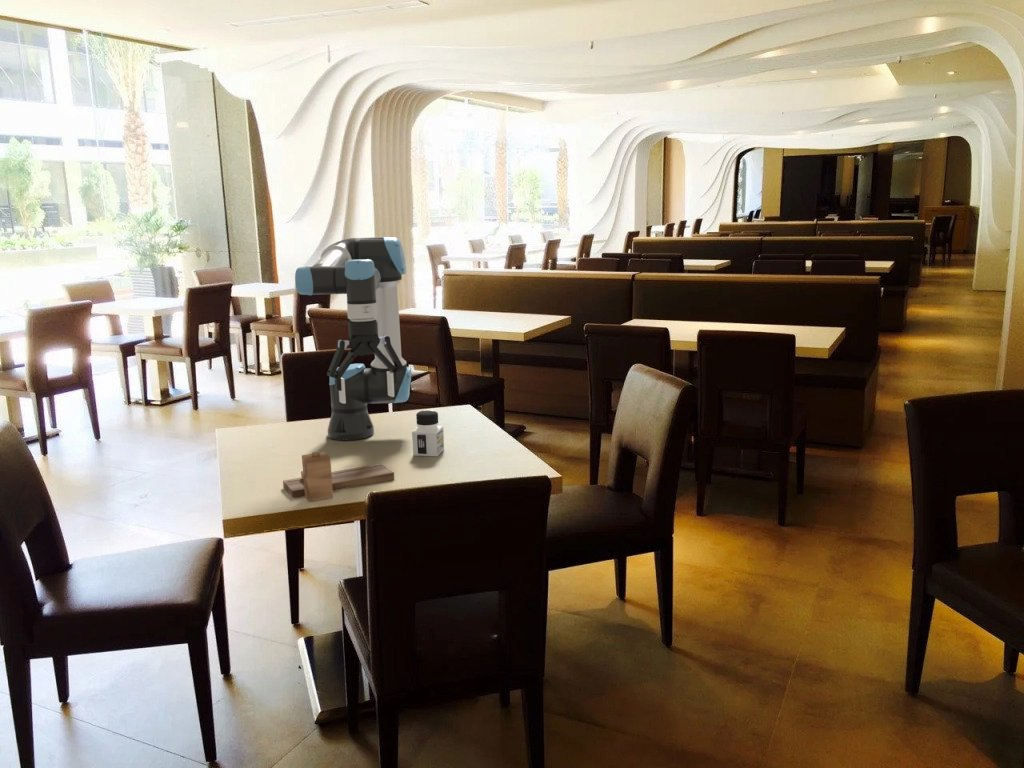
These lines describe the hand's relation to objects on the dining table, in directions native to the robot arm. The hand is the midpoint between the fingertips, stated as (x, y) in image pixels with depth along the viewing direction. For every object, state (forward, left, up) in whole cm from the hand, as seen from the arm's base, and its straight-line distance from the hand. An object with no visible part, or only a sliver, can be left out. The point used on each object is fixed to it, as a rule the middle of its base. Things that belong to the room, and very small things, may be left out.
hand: (367, 399), depth 217 cm
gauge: (-3, -15, -24) cm, 28 cm away
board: (-6, -7, -24) cm, 26 cm away
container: (-20, +25, -24) cm, 40 cm away
